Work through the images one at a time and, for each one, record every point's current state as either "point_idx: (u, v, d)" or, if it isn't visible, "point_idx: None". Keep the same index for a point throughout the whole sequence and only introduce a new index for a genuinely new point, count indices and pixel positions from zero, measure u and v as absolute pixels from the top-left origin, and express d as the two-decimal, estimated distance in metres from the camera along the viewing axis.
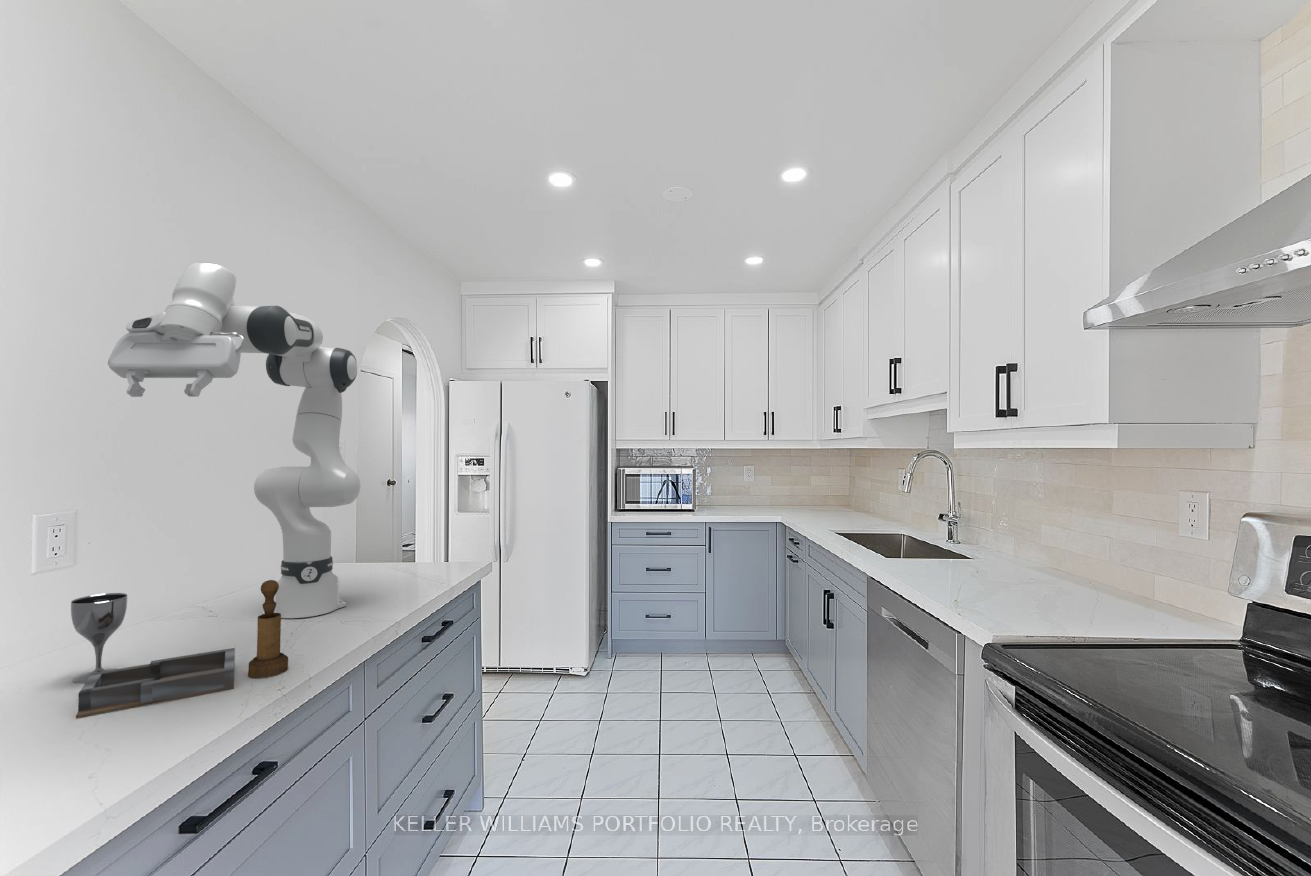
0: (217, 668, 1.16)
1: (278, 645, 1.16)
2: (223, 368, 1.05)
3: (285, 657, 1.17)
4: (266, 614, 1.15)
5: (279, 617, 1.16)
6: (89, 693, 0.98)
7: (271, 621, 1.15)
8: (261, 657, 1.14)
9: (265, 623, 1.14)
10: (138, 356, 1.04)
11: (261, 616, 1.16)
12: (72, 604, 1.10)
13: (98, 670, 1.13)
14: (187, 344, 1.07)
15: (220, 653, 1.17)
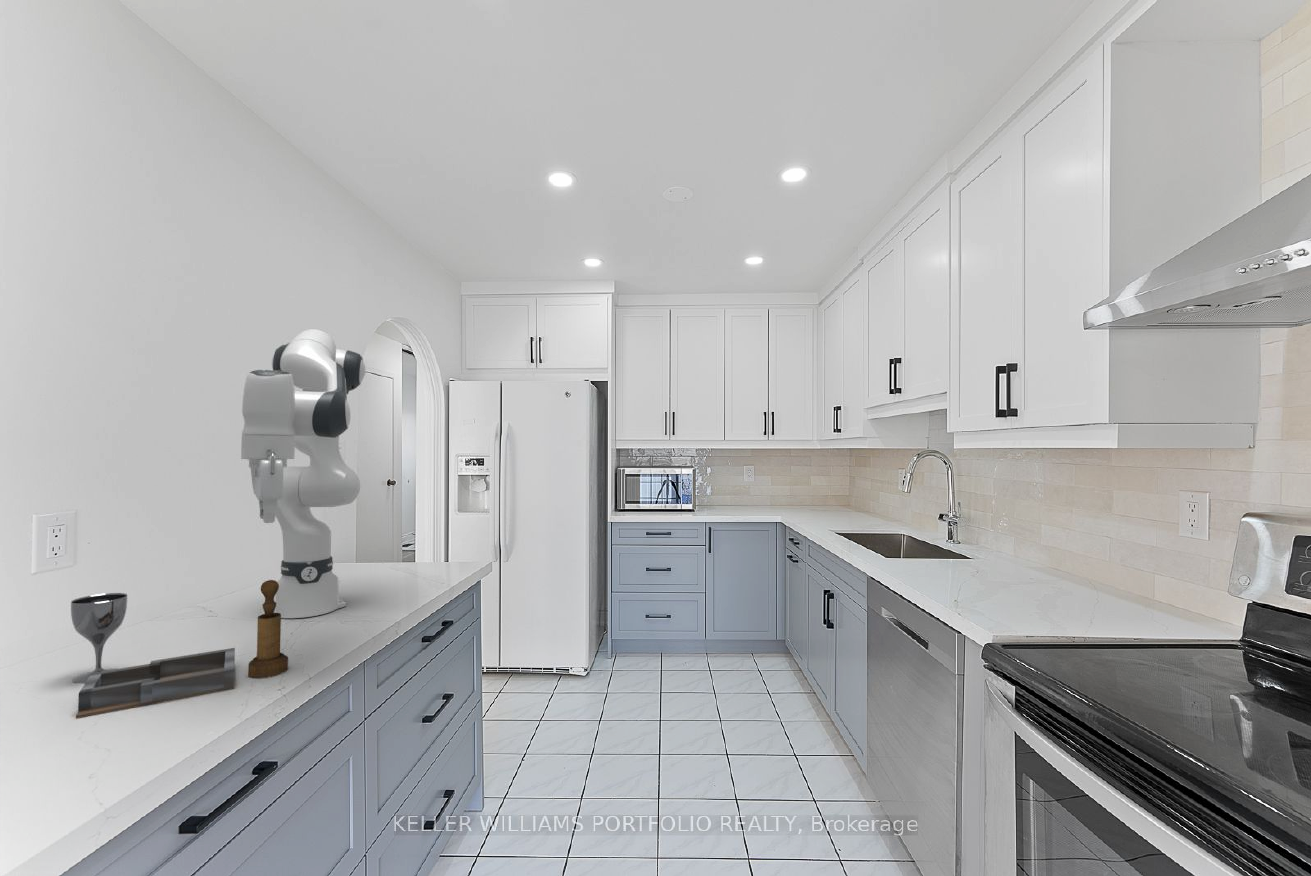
0: (217, 668, 1.16)
1: (278, 645, 1.16)
2: (263, 499, 1.08)
3: (285, 657, 1.17)
4: (266, 614, 1.15)
5: (279, 617, 1.16)
6: (89, 693, 0.98)
7: (271, 621, 1.15)
8: (261, 657, 1.14)
9: (265, 623, 1.14)
10: (255, 483, 1.19)
11: (261, 616, 1.16)
12: (72, 604, 1.10)
13: (98, 670, 1.13)
14: (259, 470, 1.14)
15: (220, 653, 1.17)
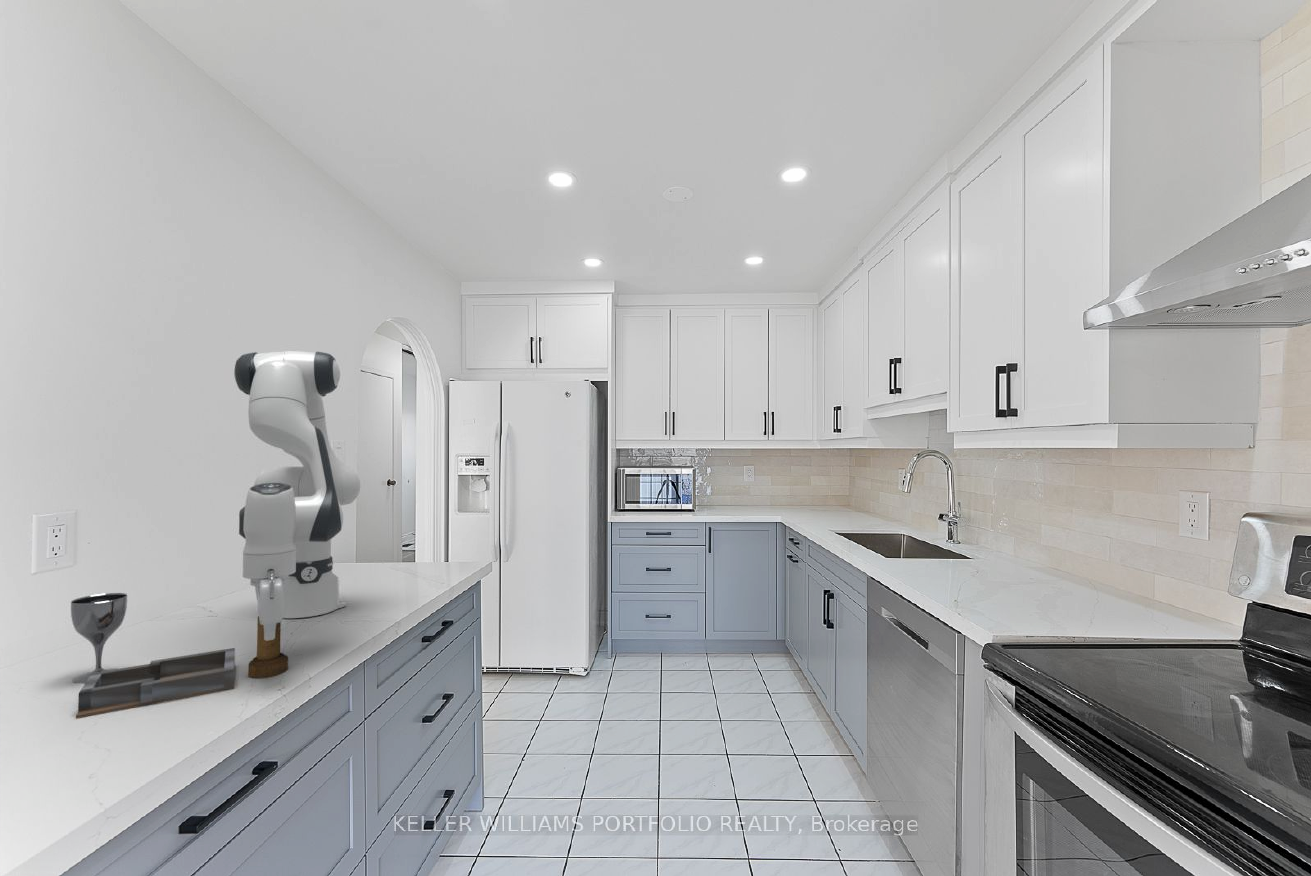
0: (217, 668, 1.16)
1: (278, 645, 1.16)
2: (263, 624, 1.08)
3: (285, 657, 1.17)
4: None
5: None
6: (89, 693, 0.98)
7: None
8: (261, 657, 1.14)
9: None
10: None
11: None
12: (72, 604, 1.10)
13: (98, 670, 1.13)
14: None
15: (220, 653, 1.17)
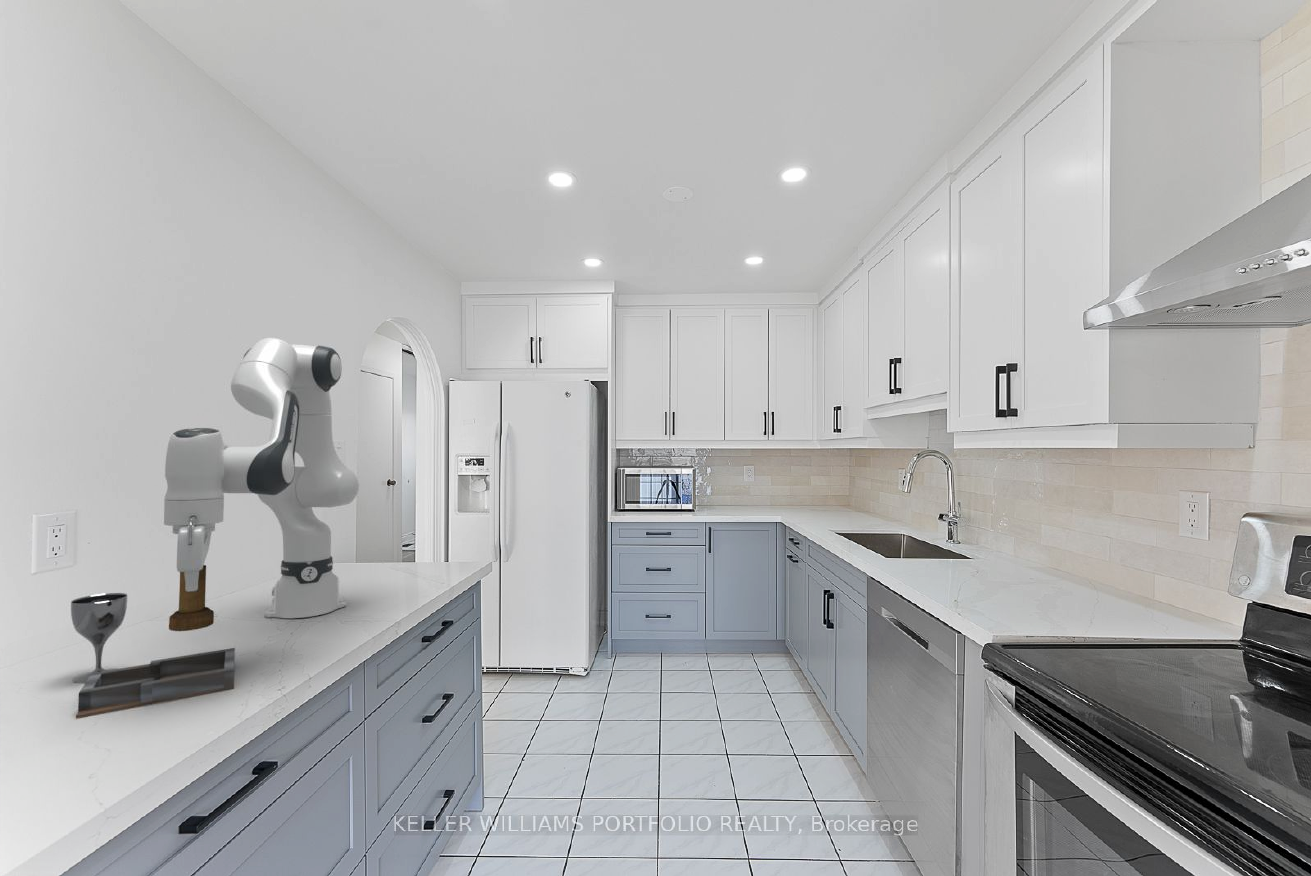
0: (217, 668, 1.16)
1: (202, 598, 1.10)
2: (181, 571, 1.02)
3: (210, 611, 1.11)
4: None
5: (204, 568, 1.10)
6: (89, 693, 0.98)
7: None
8: (183, 609, 1.08)
9: None
10: None
11: None
12: (72, 604, 1.10)
13: (98, 670, 1.13)
14: None
15: (220, 653, 1.17)
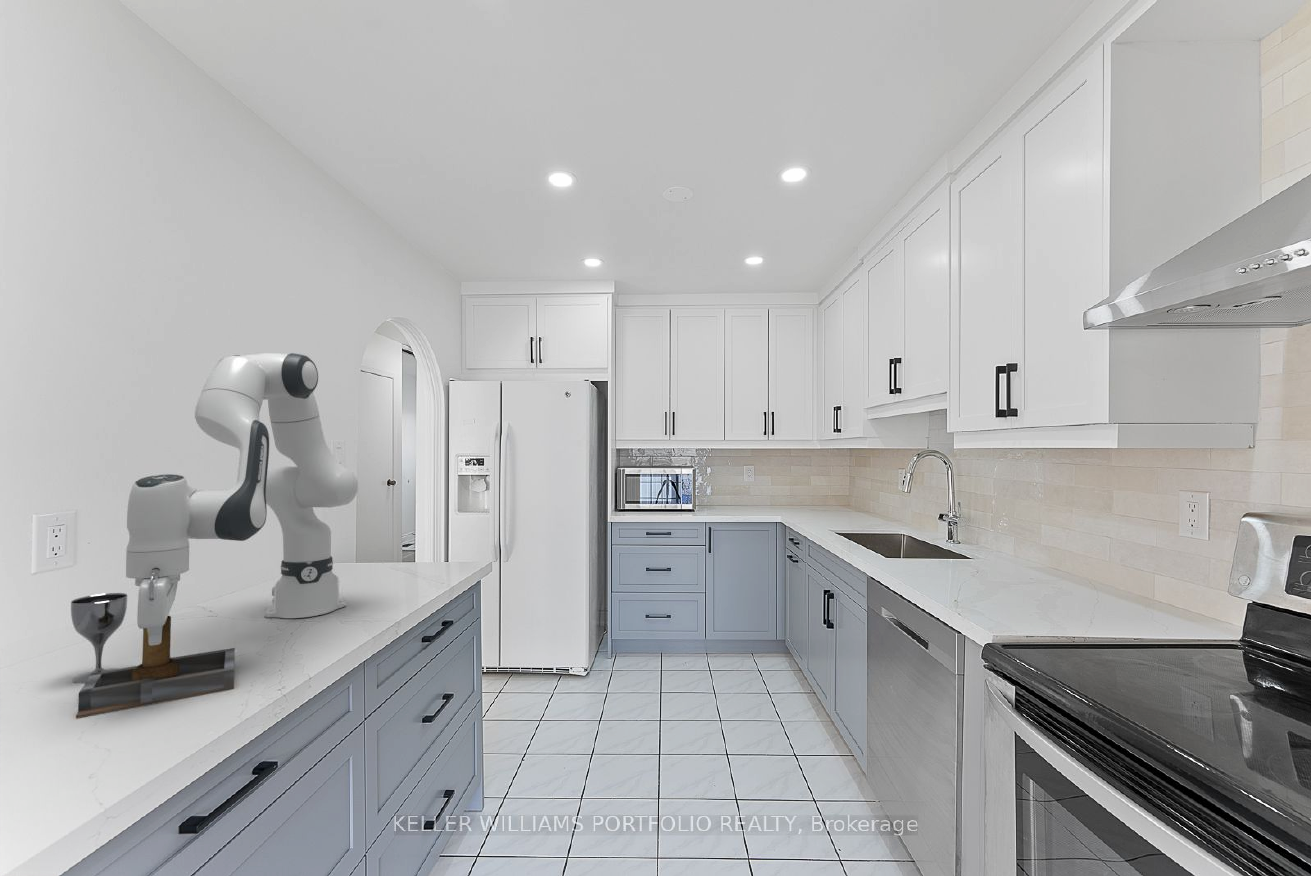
0: (217, 668, 1.16)
1: (167, 651, 1.07)
2: None
3: (175, 664, 1.08)
4: None
5: (168, 620, 1.07)
6: (89, 693, 0.98)
7: None
8: (146, 664, 1.05)
9: None
10: None
11: None
12: (72, 604, 1.10)
13: (98, 670, 1.13)
14: None
15: (220, 653, 1.17)
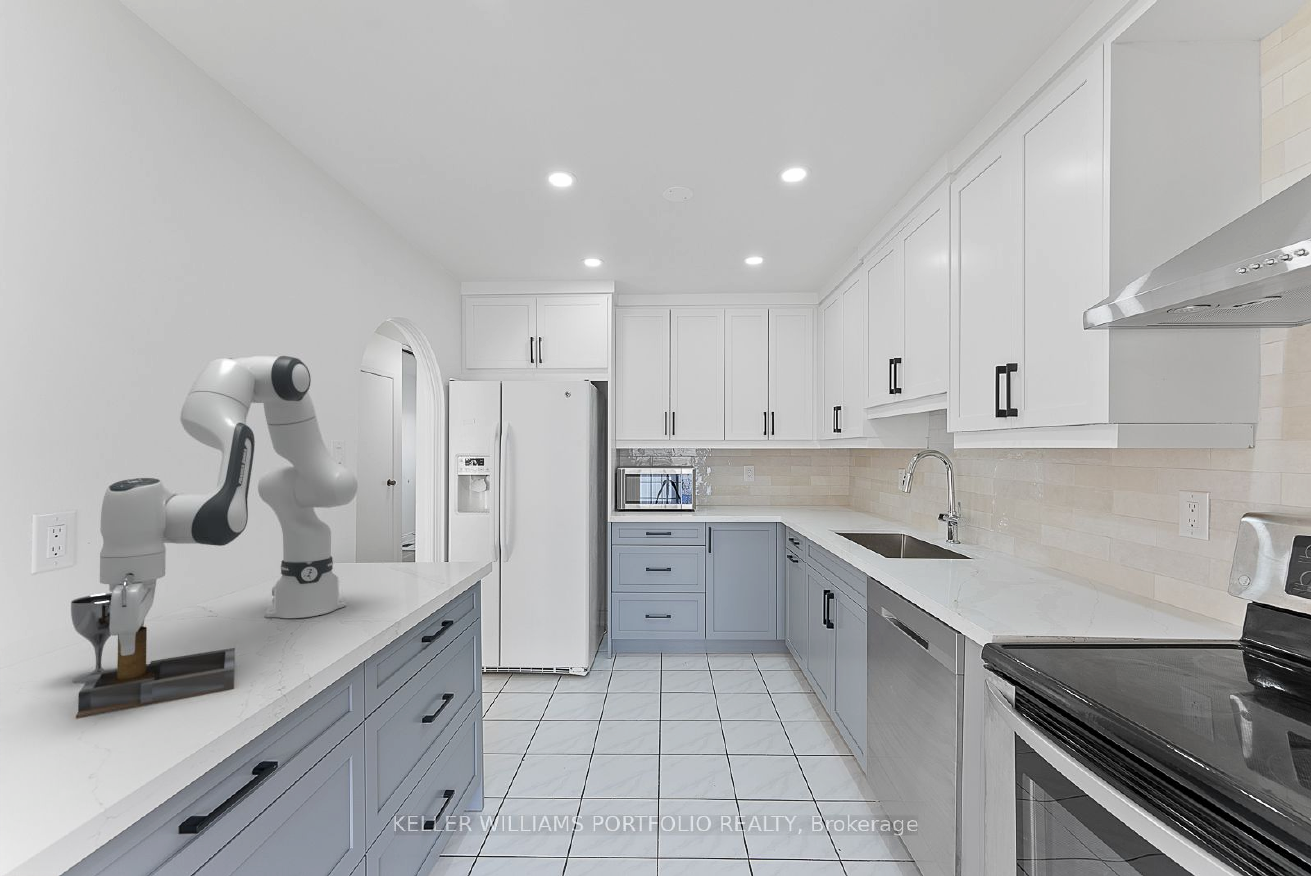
0: (217, 668, 1.16)
1: (142, 662, 1.05)
2: (114, 635, 0.97)
3: (151, 675, 1.06)
4: None
5: (143, 631, 1.05)
6: (89, 693, 0.98)
7: None
8: (121, 676, 1.03)
9: None
10: None
11: None
12: (72, 604, 1.10)
13: (98, 670, 1.13)
14: None
15: (220, 653, 1.17)
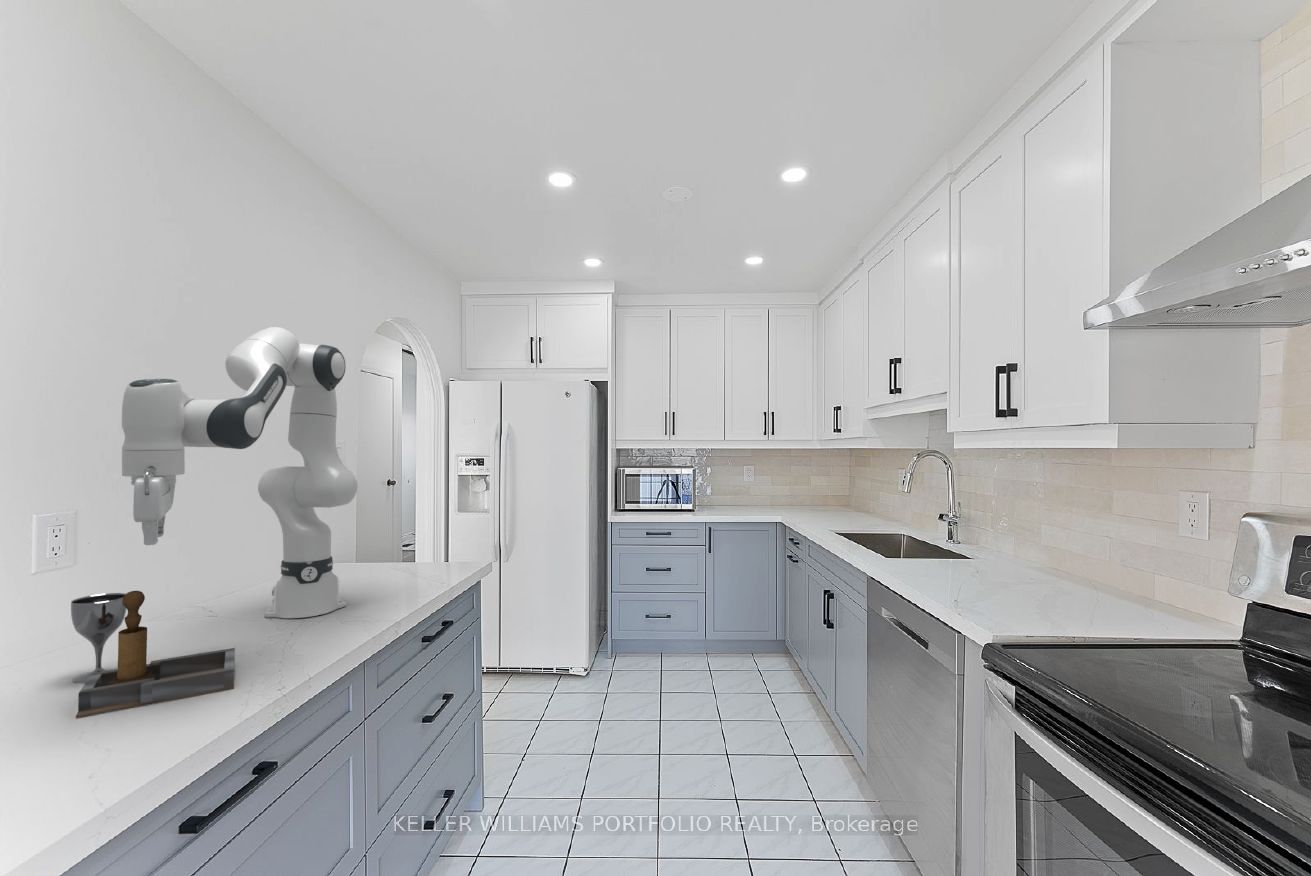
0: (217, 668, 1.16)
1: (143, 663, 1.05)
2: (138, 521, 1.00)
3: (152, 676, 1.06)
4: (128, 628, 1.04)
5: (144, 632, 1.05)
6: (89, 693, 0.98)
7: (133, 636, 1.04)
8: (121, 676, 1.03)
9: (126, 639, 1.03)
10: None
11: (124, 631, 1.05)
12: (72, 604, 1.10)
13: (98, 670, 1.13)
14: None
15: (220, 653, 1.17)
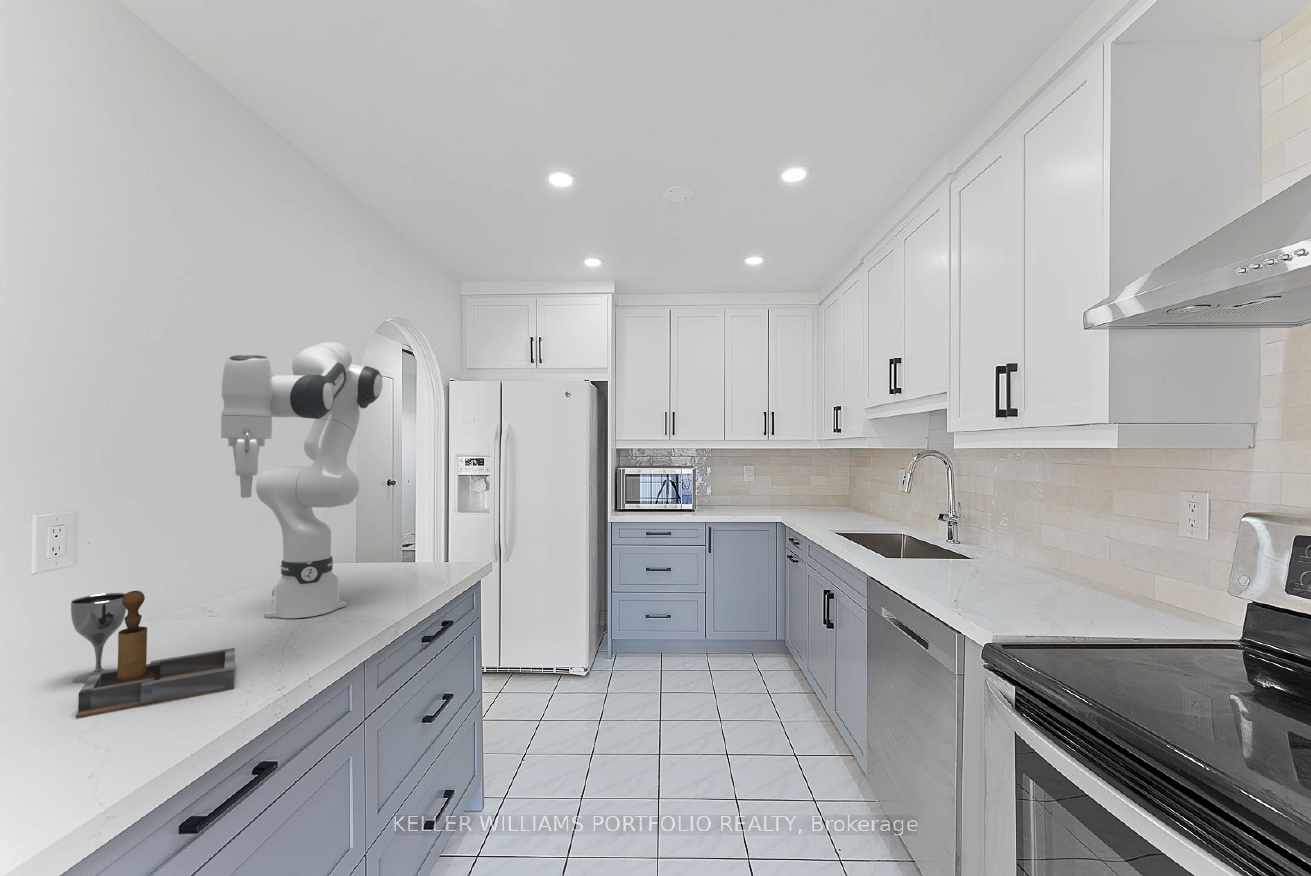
0: (217, 668, 1.16)
1: (143, 663, 1.05)
2: (239, 475, 1.16)
3: (152, 676, 1.06)
4: (128, 628, 1.04)
5: (144, 632, 1.05)
6: (89, 693, 0.98)
7: (133, 636, 1.04)
8: (121, 676, 1.03)
9: (126, 639, 1.03)
10: None
11: (124, 631, 1.05)
12: (72, 604, 1.10)
13: (98, 670, 1.13)
14: None
15: (220, 653, 1.17)
